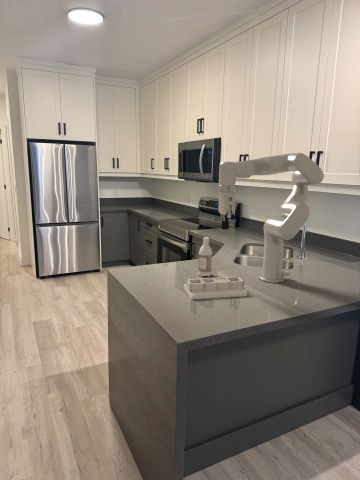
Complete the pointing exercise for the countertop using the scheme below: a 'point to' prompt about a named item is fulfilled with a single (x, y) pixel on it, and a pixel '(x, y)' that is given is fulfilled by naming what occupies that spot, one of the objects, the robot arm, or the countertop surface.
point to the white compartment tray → (215, 288)
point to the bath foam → (205, 259)
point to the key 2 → (220, 280)
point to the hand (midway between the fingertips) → (224, 229)
